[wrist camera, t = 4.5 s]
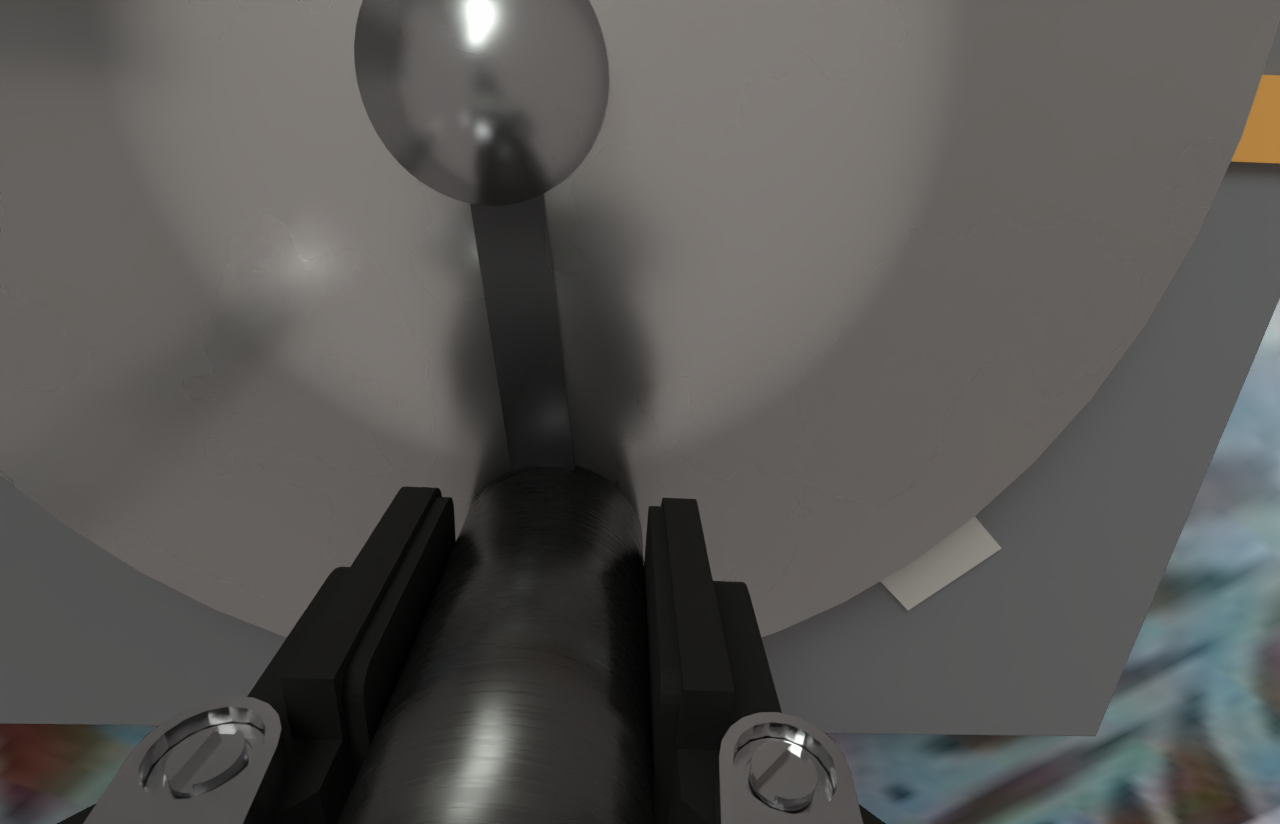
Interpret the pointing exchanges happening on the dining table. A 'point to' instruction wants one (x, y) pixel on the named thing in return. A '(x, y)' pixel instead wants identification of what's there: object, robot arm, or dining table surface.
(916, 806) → the dining table surface
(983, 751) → the dining table surface
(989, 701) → the dial plate
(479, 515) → the dial
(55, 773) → the dining table surface
